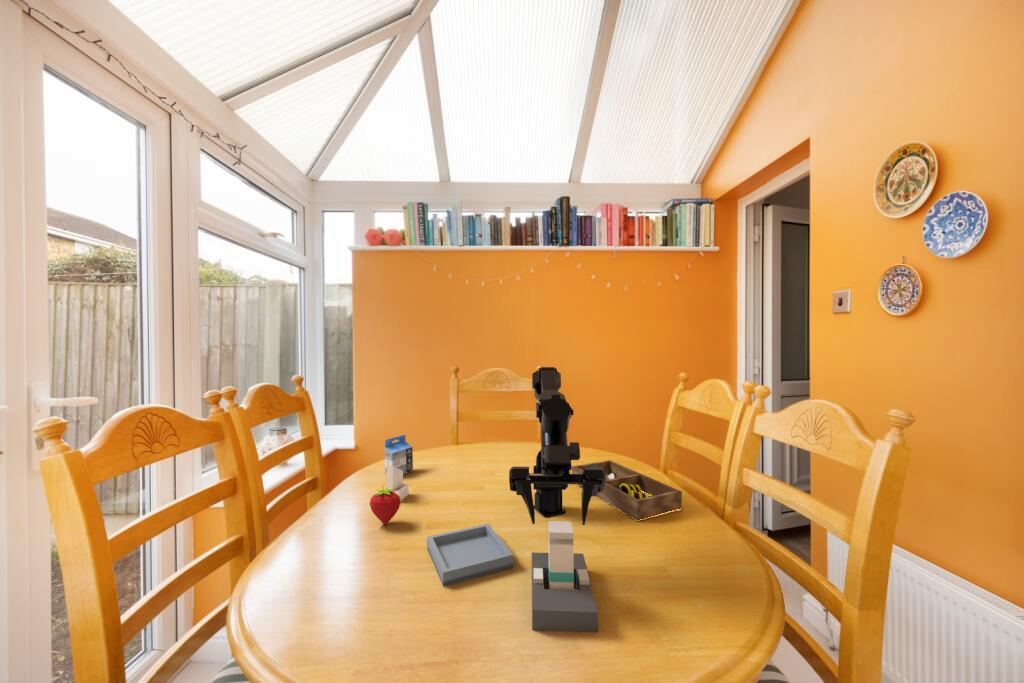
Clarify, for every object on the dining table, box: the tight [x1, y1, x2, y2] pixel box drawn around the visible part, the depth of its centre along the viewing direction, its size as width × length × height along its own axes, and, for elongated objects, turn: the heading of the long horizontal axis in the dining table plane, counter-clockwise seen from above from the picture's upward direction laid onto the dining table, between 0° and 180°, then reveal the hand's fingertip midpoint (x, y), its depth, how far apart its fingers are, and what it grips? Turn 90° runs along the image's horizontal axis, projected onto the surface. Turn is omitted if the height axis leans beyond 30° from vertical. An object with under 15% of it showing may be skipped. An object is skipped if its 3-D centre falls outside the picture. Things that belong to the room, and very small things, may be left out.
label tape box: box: [384, 434, 414, 476], centre depth 127 cm, size 9×4×12 cm, turn 147°
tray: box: [426, 523, 515, 587], centre depth 78 cm, size 14×14×2 cm
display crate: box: [571, 459, 683, 520], centre depth 109 cm, size 15×29×5 cm, turn 24°
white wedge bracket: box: [386, 465, 410, 501], centre depth 107 cm, size 4×10×9 cm, turn 168°
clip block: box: [531, 551, 599, 633], centre depth 66 cm, size 16×10×4 cm, turn 177°
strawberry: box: [369, 484, 402, 525], centre depth 92 cm, size 6×8×10 cm
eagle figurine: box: [588, 464, 617, 480], centre depth 115 cm, size 8×7×9 cm
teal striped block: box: [547, 520, 575, 590], centre depth 66 cm, size 4×4×12 cm
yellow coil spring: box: [619, 483, 649, 499], centre depth 103 cm, size 10×5×5 cm, turn 4°
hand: (558, 523), depth 70 cm, fingers open, 9 cm apart
